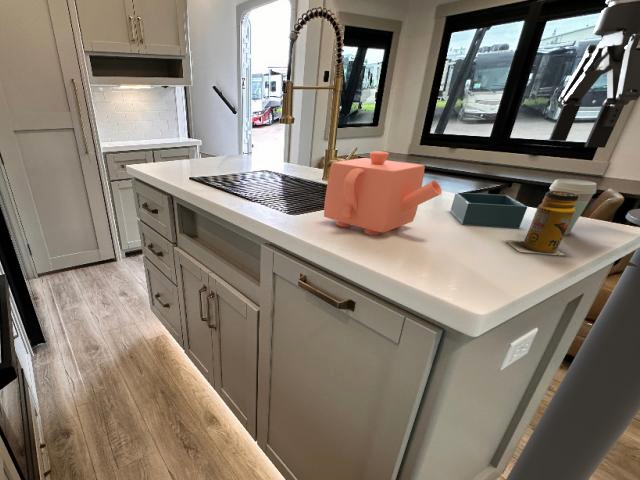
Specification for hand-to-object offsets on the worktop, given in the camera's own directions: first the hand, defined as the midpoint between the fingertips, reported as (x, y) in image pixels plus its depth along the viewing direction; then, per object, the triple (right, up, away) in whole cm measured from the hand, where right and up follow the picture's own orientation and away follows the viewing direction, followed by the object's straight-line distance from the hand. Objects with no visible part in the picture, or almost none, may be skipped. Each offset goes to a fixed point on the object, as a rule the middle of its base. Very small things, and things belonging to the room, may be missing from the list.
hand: (574, 143), depth 69 cm
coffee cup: (+14, -13, +20) cm, 28 cm away
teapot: (-29, -12, +22) cm, 39 cm away
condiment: (0, -19, +10) cm, 21 cm away
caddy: (+2, -8, +29) cm, 30 cm away
